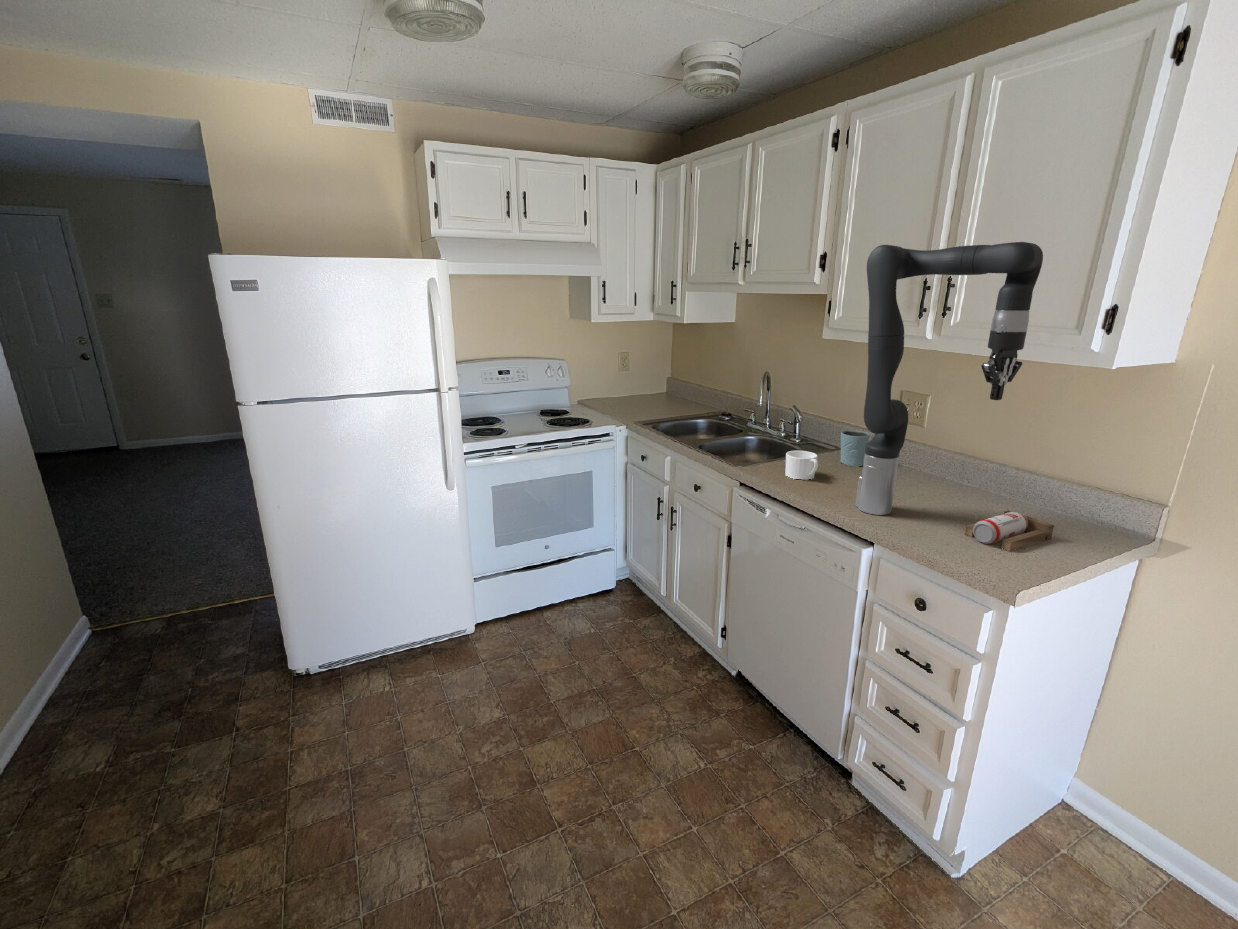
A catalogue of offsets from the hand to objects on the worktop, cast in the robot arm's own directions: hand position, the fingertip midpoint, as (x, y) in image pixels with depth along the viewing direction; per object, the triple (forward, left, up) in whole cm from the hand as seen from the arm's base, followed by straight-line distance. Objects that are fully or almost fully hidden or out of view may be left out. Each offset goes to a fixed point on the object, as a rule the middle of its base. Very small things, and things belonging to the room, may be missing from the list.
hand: (995, 399), depth 149 cm
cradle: (+5, +7, -37) cm, 38 cm away
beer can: (+5, -3, -34) cm, 34 cm away
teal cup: (-64, +24, -37) cm, 78 cm away
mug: (-59, -5, -37) cm, 70 cm away
